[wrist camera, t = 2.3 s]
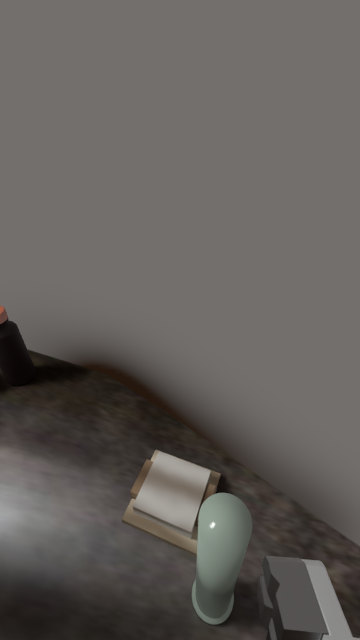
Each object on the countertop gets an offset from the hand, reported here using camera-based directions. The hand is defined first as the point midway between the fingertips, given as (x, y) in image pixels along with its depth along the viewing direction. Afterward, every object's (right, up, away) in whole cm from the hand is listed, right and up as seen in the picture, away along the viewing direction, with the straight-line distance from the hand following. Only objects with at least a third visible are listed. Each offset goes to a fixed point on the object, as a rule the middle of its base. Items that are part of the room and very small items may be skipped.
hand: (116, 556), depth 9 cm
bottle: (-38, -8, +69) cm, 79 cm away
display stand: (+1, -25, +45) cm, 51 cm away
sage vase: (+6, -32, +35) cm, 48 cm away
